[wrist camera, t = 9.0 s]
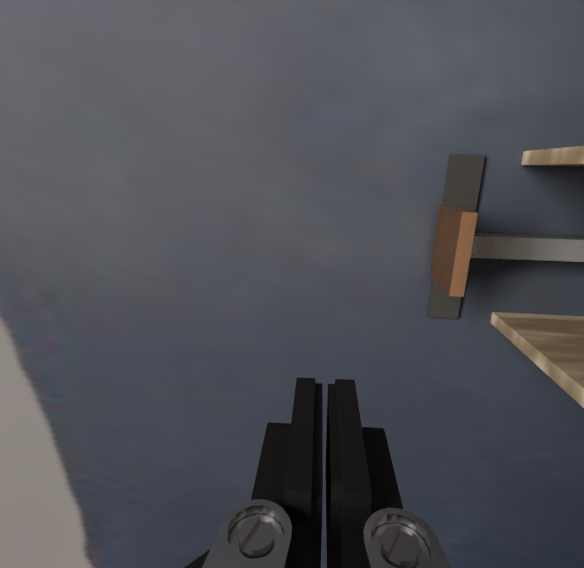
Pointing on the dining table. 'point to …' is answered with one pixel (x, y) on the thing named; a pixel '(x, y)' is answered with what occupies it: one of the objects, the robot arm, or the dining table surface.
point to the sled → (488, 248)
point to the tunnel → (550, 328)
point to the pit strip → (463, 195)
